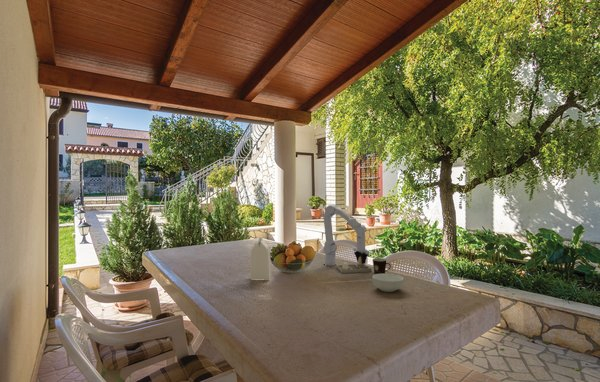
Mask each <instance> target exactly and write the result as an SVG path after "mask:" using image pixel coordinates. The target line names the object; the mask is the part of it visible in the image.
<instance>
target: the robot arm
mask: <svg viewBox="0 0 600 382" xmlns="http://www.w3.org/2000/svg"><path fill="white" fill-rule="evenodd" d="M335 215H338V216H340V217H341V218H343V219H344V221H346V222H347V225H349V226H350V228H351V229H353V230H354V232H355V234H356V247H354V248H353V254H354V255H355V257H356V261H357V263H358V258H359V257H360V256H361V260H362V264H365V265H366V262H367V261H366V260H367V259H368V256H369V254H370V250H368V249H366V231H367V228H366V226H365V225H364V224H362V223H361V222H359V221H357V219H356V218H355V217H350V216H349V214H348V213H346V212H345V211H344V210H343V208H342V207H340V206H339V205H337V204H329V205H327V206H326V207H325V208H324V214H323V225H324V235H325V241H324V242H323V244H324V246H323V252H324V253H325V255H324V264H326V265H325V266H336V265H335V264H336V251H337V249H338V247H337V244H336V241H335V240H334V235H333V223H332V218H333V217H334V216H335Z"/></svg>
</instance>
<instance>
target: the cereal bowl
mask: <svg viewBox="0 0 600 382" xmlns="http://www.w3.org/2000/svg"><path fill="white" fill-rule="evenodd" d="M404 280H405V279H404V277H403V276H402V275H399V274H393V273H385V274H373V275H372V277H371V281H372V284H373V286H374V287H376V288H377V289H379V290H380V291H382V292H385V293H386V292H388V293H393V292H395V291H397V290H400V289H401V288H403V286H404Z"/></svg>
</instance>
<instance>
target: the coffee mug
mask: <svg viewBox="0 0 600 382" xmlns="http://www.w3.org/2000/svg"><path fill="white" fill-rule="evenodd" d="M387 265H388V266H389V267H388V269H386V267H387ZM372 266H373V272H374V274H373V275H375V274H386V272H388V271H389V270H390V269H392V268H391V267H392V266H391V263H389V262H387V259H385V258H382V257H377V258H372Z"/></svg>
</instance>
